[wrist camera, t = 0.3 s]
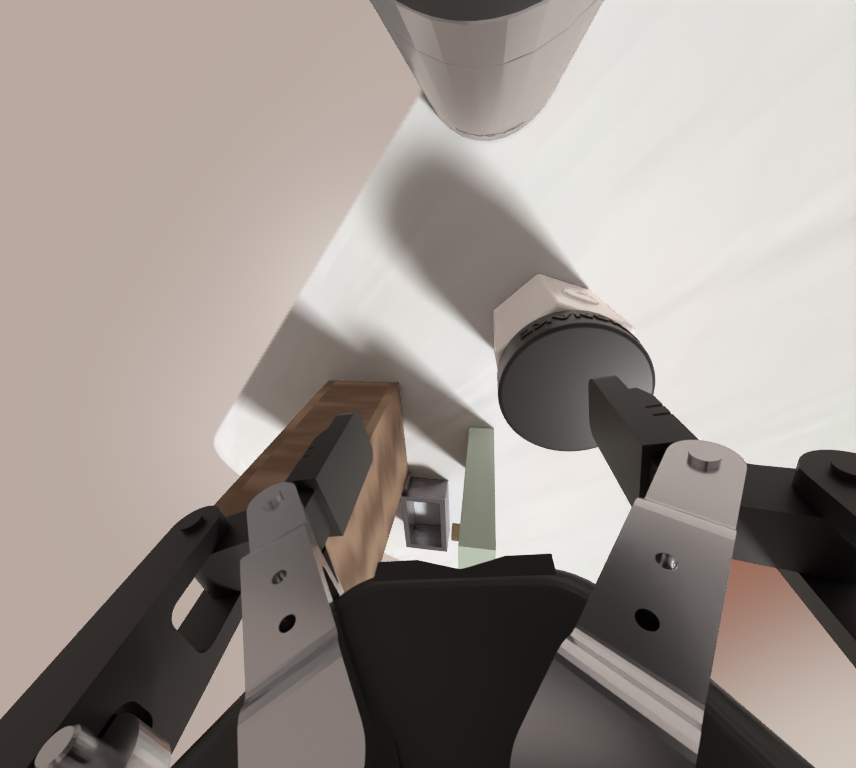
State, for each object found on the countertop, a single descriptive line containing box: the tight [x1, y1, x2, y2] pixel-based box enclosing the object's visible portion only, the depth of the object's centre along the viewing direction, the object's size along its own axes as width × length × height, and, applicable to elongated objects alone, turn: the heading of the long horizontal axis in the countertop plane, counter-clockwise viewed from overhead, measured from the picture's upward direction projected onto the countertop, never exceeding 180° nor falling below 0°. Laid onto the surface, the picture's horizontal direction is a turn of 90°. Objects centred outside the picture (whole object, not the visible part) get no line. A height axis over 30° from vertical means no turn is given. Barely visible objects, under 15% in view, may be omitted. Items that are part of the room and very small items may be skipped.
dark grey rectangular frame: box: [401, 472, 450, 552], centre depth 40 cm, size 9×5×3 cm, turn 3°
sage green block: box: [451, 427, 496, 569], centre depth 30 cm, size 6×4×14 cm, turn 3°
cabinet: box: [214, 381, 408, 593], centre depth 29 cm, size 12×8×18 cm, turn 3°
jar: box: [493, 274, 655, 451], centre depth 23 cm, size 9×8×12 cm
